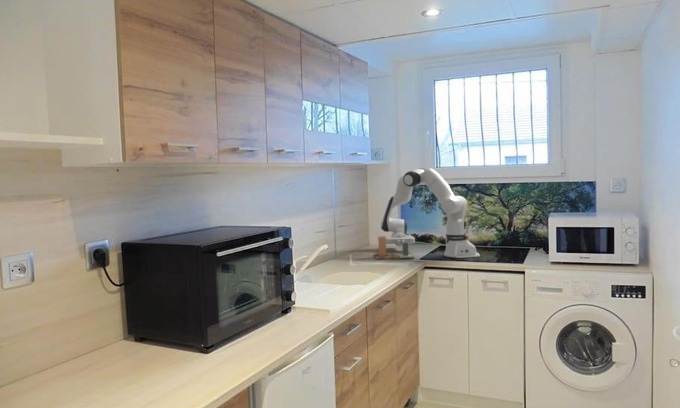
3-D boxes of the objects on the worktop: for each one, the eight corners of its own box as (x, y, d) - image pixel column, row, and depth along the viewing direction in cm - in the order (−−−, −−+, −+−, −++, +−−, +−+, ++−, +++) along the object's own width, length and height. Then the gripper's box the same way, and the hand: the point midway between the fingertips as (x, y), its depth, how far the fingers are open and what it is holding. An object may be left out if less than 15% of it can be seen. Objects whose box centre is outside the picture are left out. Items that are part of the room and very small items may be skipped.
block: (385, 255, 331) (385, 236, 331) (386, 257, 327) (385, 237, 326) (378, 256, 331) (378, 236, 331) (379, 257, 327) (378, 237, 326)
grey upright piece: (411, 255, 325) (410, 241, 324) (412, 257, 317) (412, 243, 316) (398, 255, 325) (398, 241, 324) (400, 257, 317) (399, 243, 316)
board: (410, 255, 336) (410, 252, 336) (414, 260, 318) (414, 257, 318) (374, 256, 336) (374, 253, 336) (376, 261, 318) (375, 258, 318)
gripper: (383, 235, 354) (385, 238, 340) (413, 234, 354) (416, 237, 340) (384, 244, 355) (385, 247, 341) (413, 243, 355) (416, 246, 341)
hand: (401, 242), depth 341 cm, fingers closed
